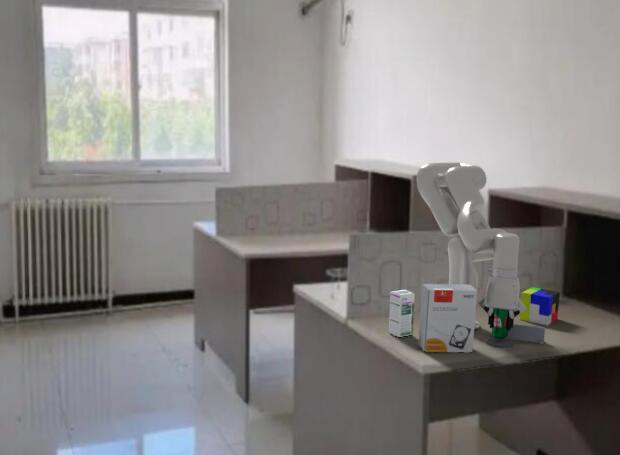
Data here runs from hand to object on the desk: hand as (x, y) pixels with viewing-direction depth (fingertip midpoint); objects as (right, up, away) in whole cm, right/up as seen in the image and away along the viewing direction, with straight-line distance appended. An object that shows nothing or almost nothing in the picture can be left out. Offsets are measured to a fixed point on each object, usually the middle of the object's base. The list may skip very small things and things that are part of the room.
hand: (500, 327), depth 241 cm
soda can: (0, -3, +1) cm, 3 cm away
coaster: (0, -5, +1) cm, 5 cm away
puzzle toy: (+21, -1, +28) cm, 35 cm away
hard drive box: (-19, -6, -6) cm, 20 cm away
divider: (+7, -4, +5) cm, 10 cm away
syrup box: (-31, -3, +7) cm, 32 cm away
